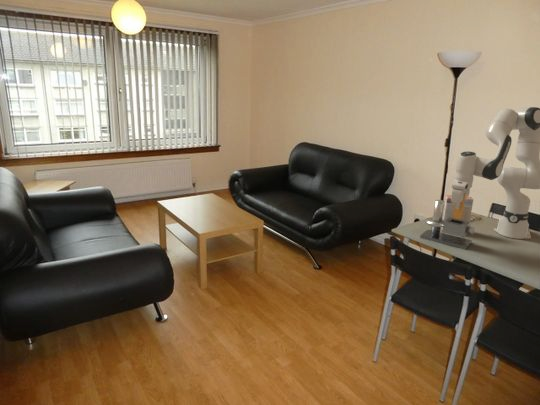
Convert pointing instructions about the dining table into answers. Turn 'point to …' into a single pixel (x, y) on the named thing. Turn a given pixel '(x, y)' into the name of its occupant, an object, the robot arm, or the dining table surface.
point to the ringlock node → (447, 228)
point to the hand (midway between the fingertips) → (458, 208)
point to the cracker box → (450, 209)
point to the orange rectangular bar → (459, 212)
